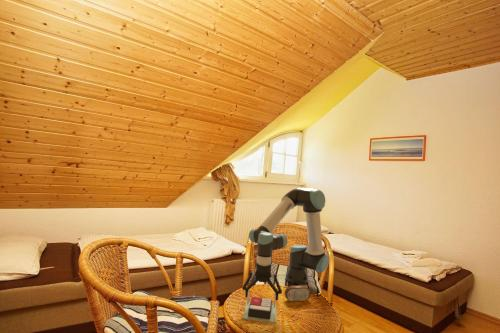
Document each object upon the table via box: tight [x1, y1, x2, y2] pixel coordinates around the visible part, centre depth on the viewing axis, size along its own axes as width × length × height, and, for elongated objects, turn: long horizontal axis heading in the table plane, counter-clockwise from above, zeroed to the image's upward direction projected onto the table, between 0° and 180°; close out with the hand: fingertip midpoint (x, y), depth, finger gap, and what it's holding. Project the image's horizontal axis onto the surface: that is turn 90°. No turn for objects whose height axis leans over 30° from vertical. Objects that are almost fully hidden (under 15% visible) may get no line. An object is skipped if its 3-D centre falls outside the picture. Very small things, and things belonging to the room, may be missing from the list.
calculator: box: [248, 296, 273, 319], centre depth 146 cm, size 11×4×15 cm
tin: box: [284, 284, 311, 302], centre depth 162 cm, size 15×3×8 cm, turn 105°
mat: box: [242, 300, 277, 324], centre depth 146 cm, size 16×18×1 cm
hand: (261, 305), depth 146 cm, fingers open, 13 cm apart
